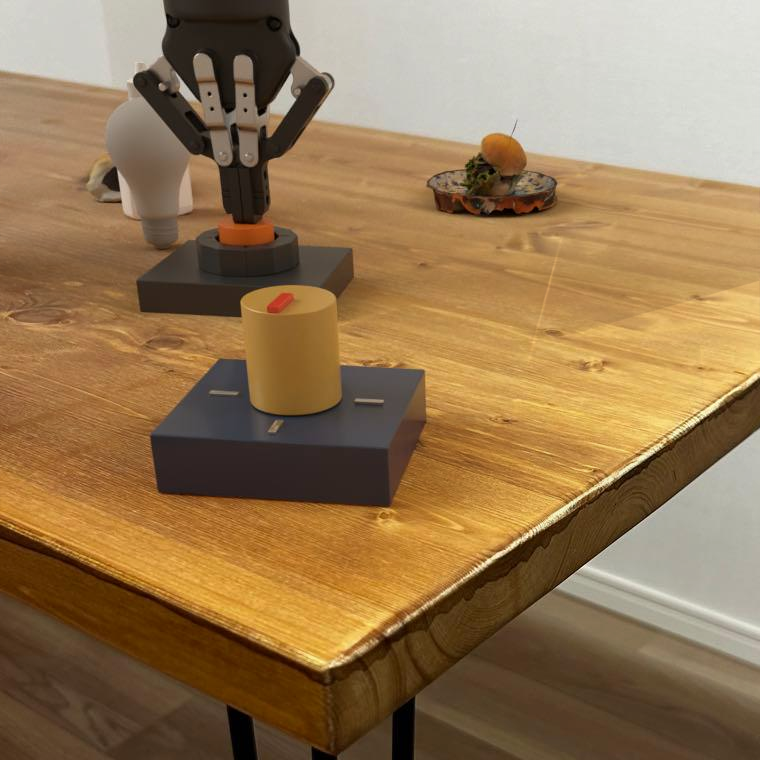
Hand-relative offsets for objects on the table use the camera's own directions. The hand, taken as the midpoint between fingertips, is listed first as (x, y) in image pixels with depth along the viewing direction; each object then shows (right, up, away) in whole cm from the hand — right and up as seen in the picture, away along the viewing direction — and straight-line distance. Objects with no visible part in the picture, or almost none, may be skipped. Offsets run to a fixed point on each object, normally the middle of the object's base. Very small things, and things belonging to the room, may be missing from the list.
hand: (248, 220), depth 80 cm
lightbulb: (-9, +1, +12) cm, 15 cm away
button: (0, -2, +1) cm, 2 cm away
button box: (0, -4, +2) cm, 5 cm away
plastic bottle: (-13, +6, +21) cm, 25 cm away
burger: (+15, +9, +28) cm, 33 cm away
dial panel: (+8, -17, -20) cm, 28 cm away
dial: (+8, -15, -22) cm, 27 cm away
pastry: (-17, +10, +27) cm, 33 cm away
